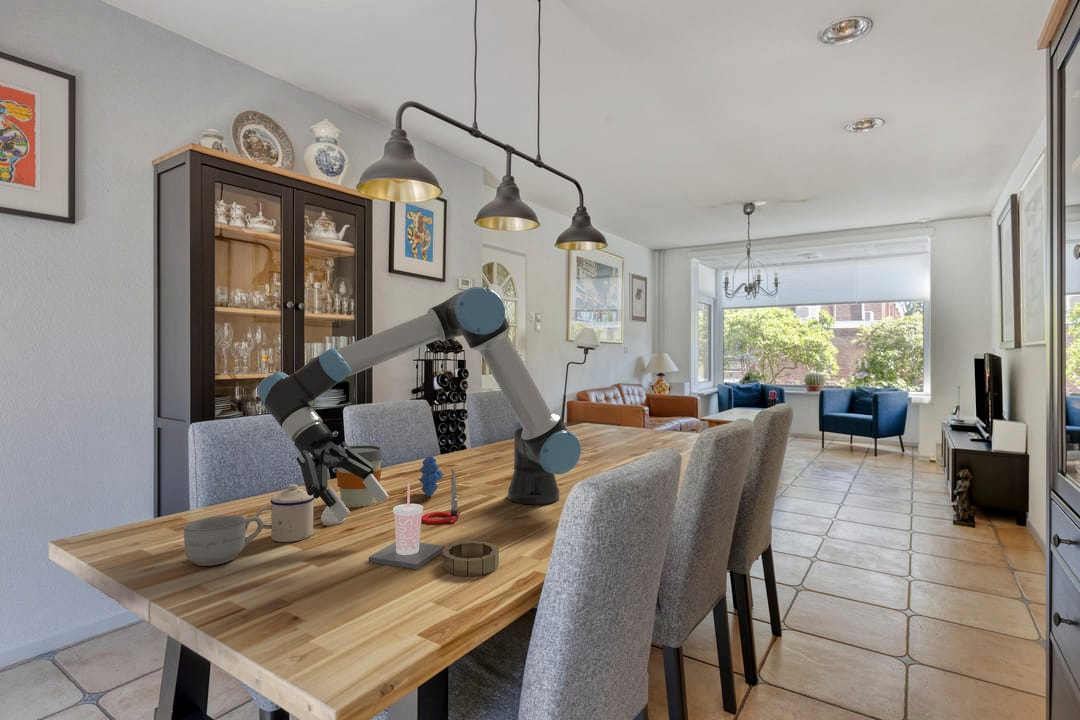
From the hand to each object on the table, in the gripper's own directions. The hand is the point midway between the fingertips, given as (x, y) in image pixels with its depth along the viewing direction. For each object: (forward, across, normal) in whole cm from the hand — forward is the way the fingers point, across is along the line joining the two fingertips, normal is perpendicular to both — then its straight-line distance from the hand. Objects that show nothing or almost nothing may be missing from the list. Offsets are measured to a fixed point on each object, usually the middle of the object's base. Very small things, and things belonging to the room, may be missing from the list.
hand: (365, 508), depth 117 cm
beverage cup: (+13, 0, +2) cm, 13 cm away
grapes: (0, -44, -12) cm, 46 cm away
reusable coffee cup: (-10, -31, -23) cm, 40 cm away
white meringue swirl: (-7, -13, -20) cm, 25 cm away
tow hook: (+10, -25, -4) cm, 27 cm away
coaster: (+14, 0, +1) cm, 14 cm away
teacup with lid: (-9, -1, -22) cm, 24 cm away
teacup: (-10, +14, -23) cm, 29 cm away
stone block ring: (+24, 0, +11) cm, 26 cm away
